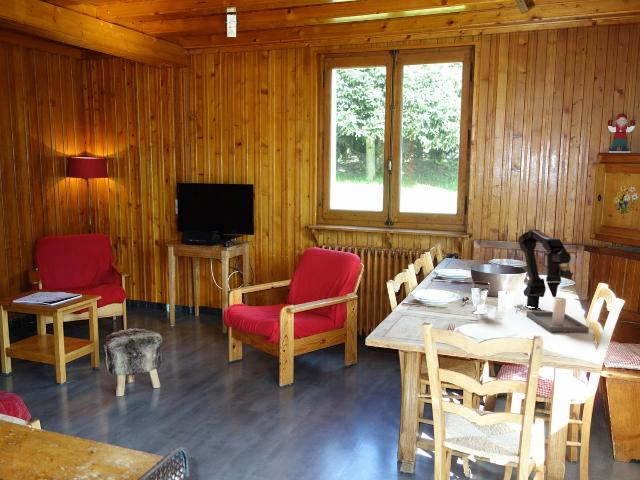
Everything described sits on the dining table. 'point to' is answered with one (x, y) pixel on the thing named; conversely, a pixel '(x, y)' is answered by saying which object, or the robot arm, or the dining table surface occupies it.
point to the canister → (558, 312)
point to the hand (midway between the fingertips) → (554, 297)
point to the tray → (569, 326)
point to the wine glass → (481, 286)
